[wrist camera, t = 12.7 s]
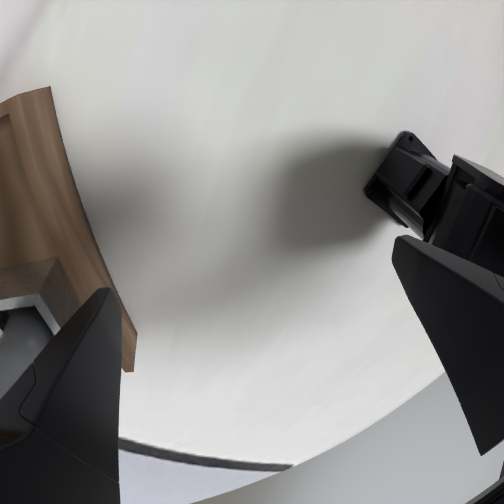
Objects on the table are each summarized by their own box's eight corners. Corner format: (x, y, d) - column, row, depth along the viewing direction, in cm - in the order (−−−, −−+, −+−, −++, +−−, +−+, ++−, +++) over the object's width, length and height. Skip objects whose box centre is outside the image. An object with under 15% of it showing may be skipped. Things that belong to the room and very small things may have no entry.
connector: (59, 283, 23) (14, 421, 12) (64, 316, 25) (32, 444, 14) (21, 276, 21) (-35, 403, 11) (28, 309, 23) (-13, 429, 13)
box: (50, 86, 15) (16, 95, 11) (137, 333, 28) (133, 371, 24) (-72, 155, 14) (-103, 176, 10) (24, 344, 26) (13, 376, 23)
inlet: (58, 256, 21) (38, 293, 17) (92, 322, 25) (83, 361, 22) (-4, 270, 21) (-25, 303, 17) (33, 329, 25) (20, 363, 21)
